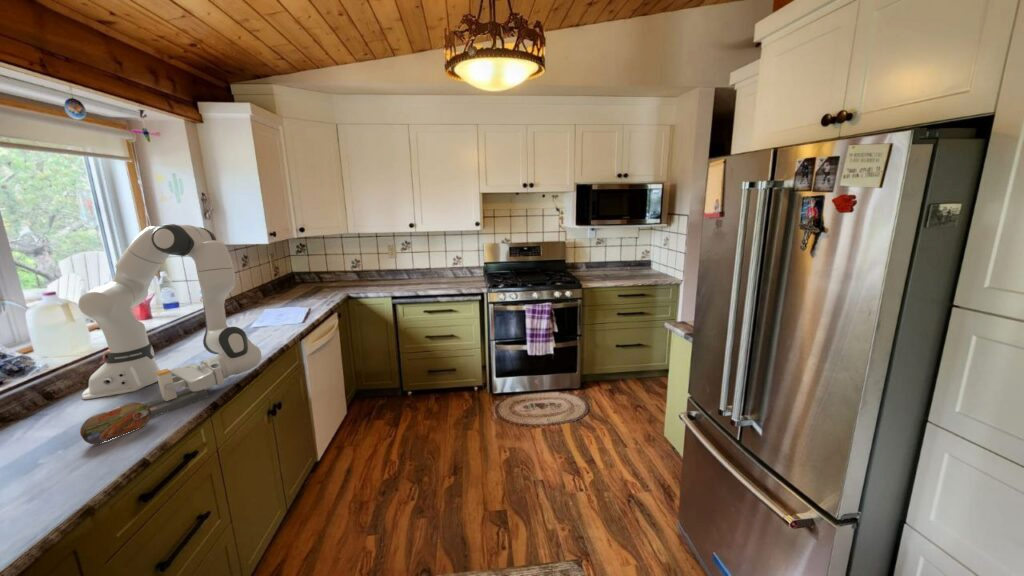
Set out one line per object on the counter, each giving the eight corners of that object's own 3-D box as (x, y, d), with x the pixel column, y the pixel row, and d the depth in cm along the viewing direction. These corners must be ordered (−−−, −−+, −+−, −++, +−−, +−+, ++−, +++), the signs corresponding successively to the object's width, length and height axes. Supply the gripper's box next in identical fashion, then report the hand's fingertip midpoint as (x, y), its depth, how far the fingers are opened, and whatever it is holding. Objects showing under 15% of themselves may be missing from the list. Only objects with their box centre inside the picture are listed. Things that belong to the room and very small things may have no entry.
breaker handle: (166, 401, 134) (158, 373, 132) (162, 399, 136) (155, 372, 133) (177, 397, 136) (170, 370, 134) (173, 395, 138) (166, 368, 136)
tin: (86, 450, 113) (77, 423, 111) (83, 447, 115) (74, 420, 113) (154, 423, 125) (147, 398, 123) (150, 421, 127) (143, 396, 125)
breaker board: (142, 421, 127) (140, 415, 126) (132, 413, 132) (131, 407, 131) (208, 396, 141) (207, 390, 141) (197, 390, 146) (196, 384, 146)
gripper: (197, 357, 150) (150, 371, 139) (221, 368, 139) (172, 384, 128) (201, 372, 152) (154, 388, 141) (225, 384, 141) (177, 402, 129)
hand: (163, 386), depth 134 cm, fingers closed on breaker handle, 3 cm apart
